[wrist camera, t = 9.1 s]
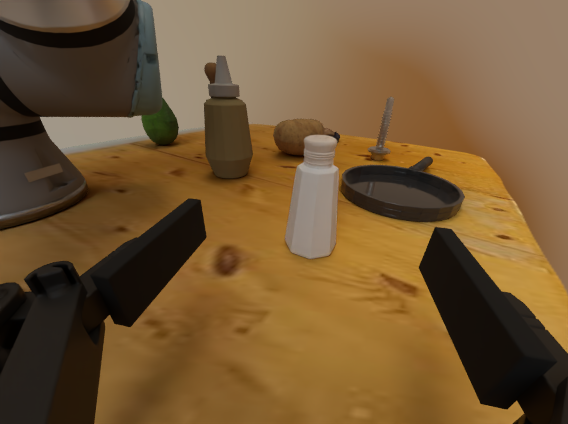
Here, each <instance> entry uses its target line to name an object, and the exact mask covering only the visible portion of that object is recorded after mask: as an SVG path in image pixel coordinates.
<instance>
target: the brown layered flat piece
mask: <svg viewBox="0 0 568 424" xmlns="http://www.w3.org/2000/svg"><path fill="white" fill-rule="evenodd" d="M324 135H327V136H331V137H333V138H335V139H336V140H337V143H338V141H339V138H340V135H339V134H338V133H336V132H333V131H332V130H330V129H328V128H324Z"/></svg>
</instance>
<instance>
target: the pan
mask: <svg viewBox="0 0 568 424" xmlns="http://www.w3.org/2000/svg"><path fill="white" fill-rule="evenodd" d="M407 170H408V171H410V170H412V169H408V168H404V167H397V166H388V165H363V166H357V167H352V168H350V169H348V170H346V171H345V172H344V173H343V174H342V179H341V192H342V194H343V195H344V196H345V197H346V198H347V199H348V200H349V201H351V202H352V203H354V204H356V205H357V206H359V207H361V208H363V209H366V210H368V211H371V212H373V213H376V214H380V215H383V216H387V217H391V218H395V219H401V220H407V221H417V222H434V221H442V220H446V219H449V218H451V217H453V216H455V215H456V214H457V212H458V211H459V208H460V206H461V204H462V202H463V200H464V198H465V196H464V194H463V192H462V190H461V189H459V188H458V187H457V186H456V185H454V184H453V183H451V182H449V181H447V180H445V179H443V178H440V177H438V176H435V175H432V174H429V173H426V172H422V171H417V172H420V173H419V177H417V176H416V177H415V176H414V177H413V175H410V174H409V175H410V176H409V175H408V174H407V173H408V171H407ZM406 174H407V175H406ZM416 175H417V174H416Z"/></svg>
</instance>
